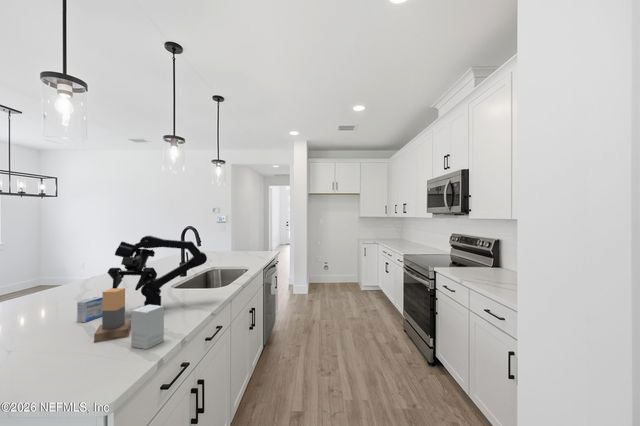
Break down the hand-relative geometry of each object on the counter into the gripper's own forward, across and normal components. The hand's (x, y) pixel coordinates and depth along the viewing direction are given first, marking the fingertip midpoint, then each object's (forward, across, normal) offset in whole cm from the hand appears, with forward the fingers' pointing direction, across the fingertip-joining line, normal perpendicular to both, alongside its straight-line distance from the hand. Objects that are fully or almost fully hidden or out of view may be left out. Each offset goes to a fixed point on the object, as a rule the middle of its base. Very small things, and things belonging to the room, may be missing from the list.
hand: (124, 290), depth 120 cm
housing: (+17, +4, -2) cm, 17 cm away
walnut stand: (+19, +4, 0) cm, 19 cm away
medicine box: (+6, -17, +14) cm, 23 cm away
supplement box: (+25, +21, -6) cm, 33 cm away
